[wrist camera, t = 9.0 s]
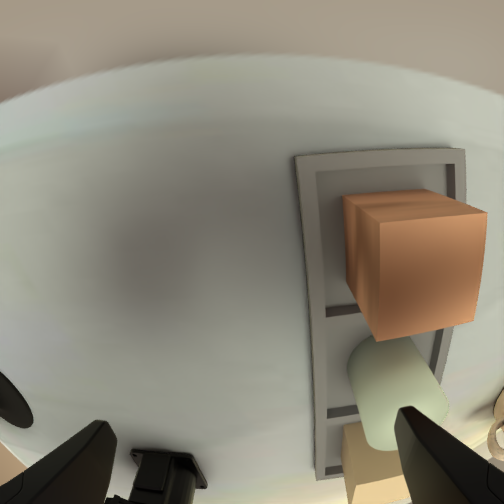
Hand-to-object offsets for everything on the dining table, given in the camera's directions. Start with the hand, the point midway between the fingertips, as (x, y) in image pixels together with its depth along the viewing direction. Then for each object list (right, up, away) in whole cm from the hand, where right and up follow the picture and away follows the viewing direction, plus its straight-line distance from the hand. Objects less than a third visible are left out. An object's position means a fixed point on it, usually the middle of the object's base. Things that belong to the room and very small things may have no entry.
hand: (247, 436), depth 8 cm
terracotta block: (+8, +6, +9) cm, 13 cm away
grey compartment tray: (+9, -2, +12) cm, 15 cm away
